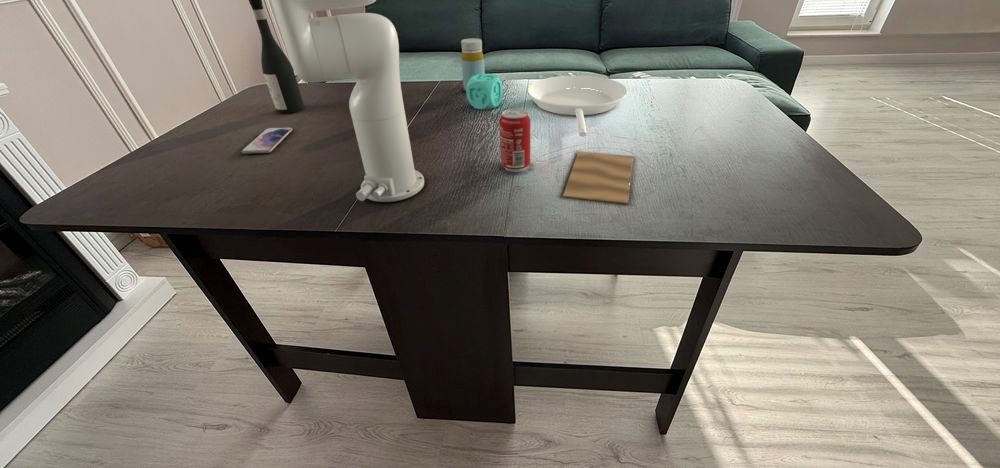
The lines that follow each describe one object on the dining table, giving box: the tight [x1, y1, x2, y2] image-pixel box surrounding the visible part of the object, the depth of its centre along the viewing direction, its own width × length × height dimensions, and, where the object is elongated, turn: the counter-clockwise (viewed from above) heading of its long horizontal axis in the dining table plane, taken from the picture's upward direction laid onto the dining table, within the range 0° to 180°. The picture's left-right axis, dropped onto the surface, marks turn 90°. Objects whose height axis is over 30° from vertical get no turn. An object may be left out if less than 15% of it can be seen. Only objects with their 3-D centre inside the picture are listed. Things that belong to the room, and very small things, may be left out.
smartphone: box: [241, 126, 293, 155], centre depth 108 cm, size 7×1×15 cm
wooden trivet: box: [562, 151, 634, 205], centre depth 87 cm, size 20×12×1 cm, turn 163°
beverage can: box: [498, 108, 531, 173], centre depth 88 cm, size 6×6×12 cm
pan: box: [526, 74, 629, 138], centre depth 116 cm, size 28×44×4 cm, turn 175°
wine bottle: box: [248, 0, 305, 114], centre depth 119 cm, size 8×8×30 cm
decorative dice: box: [465, 73, 504, 111], centre depth 123 cm, size 8×8×8 cm
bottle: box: [460, 37, 486, 92], centre depth 133 cm, size 7×7×15 cm
